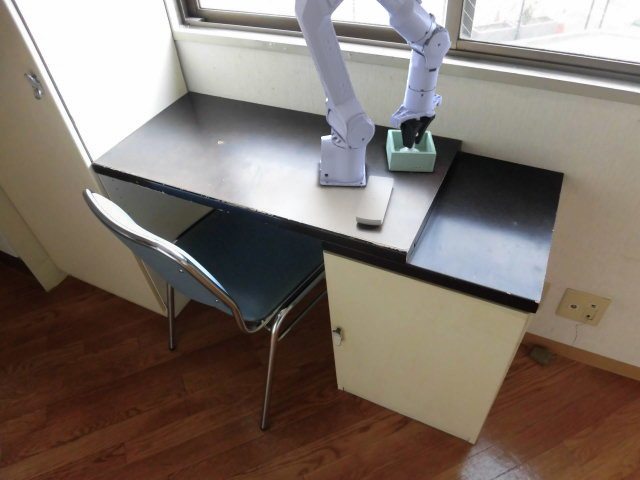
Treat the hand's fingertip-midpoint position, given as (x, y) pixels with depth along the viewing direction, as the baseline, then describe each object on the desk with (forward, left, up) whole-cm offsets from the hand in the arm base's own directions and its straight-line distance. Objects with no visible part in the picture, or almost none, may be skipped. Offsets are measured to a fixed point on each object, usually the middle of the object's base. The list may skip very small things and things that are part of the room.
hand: (411, 144), depth 104 cm
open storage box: (0, 0, -4) cm, 4 cm away
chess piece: (0, 0, -3) cm, 3 cm away
